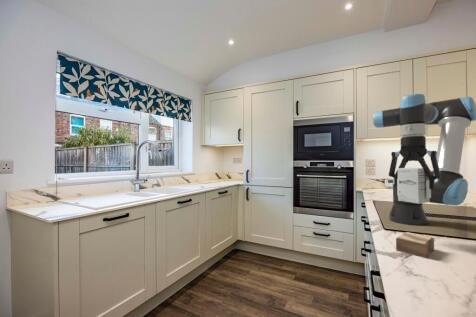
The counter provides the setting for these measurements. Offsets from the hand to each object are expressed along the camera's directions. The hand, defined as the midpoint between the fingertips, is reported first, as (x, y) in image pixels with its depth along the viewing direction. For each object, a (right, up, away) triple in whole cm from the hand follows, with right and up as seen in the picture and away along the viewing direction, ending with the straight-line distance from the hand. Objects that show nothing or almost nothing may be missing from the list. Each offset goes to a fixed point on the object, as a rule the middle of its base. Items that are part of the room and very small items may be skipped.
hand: (413, 196), depth 87 cm
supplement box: (0, -2, 0) cm, 2 cm away
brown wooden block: (-7, -16, -9) cm, 20 cm away
